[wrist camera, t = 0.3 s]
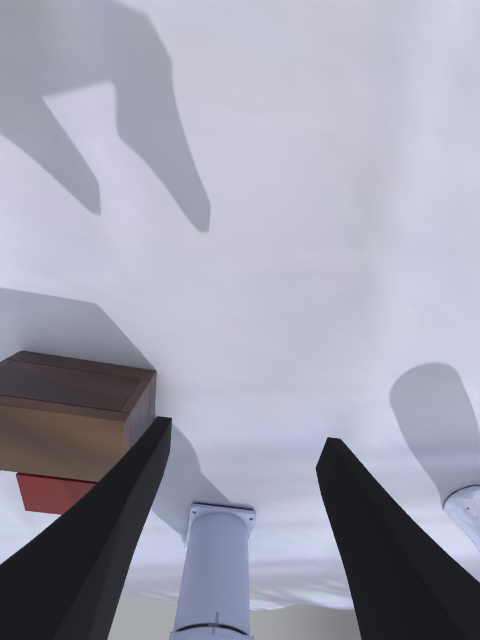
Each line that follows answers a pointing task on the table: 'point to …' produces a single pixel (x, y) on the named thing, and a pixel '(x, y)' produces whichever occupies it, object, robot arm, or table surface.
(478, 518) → the beer glass
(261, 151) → the table surface
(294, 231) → the table surface
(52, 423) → the book rack
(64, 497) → the red hardcover book
